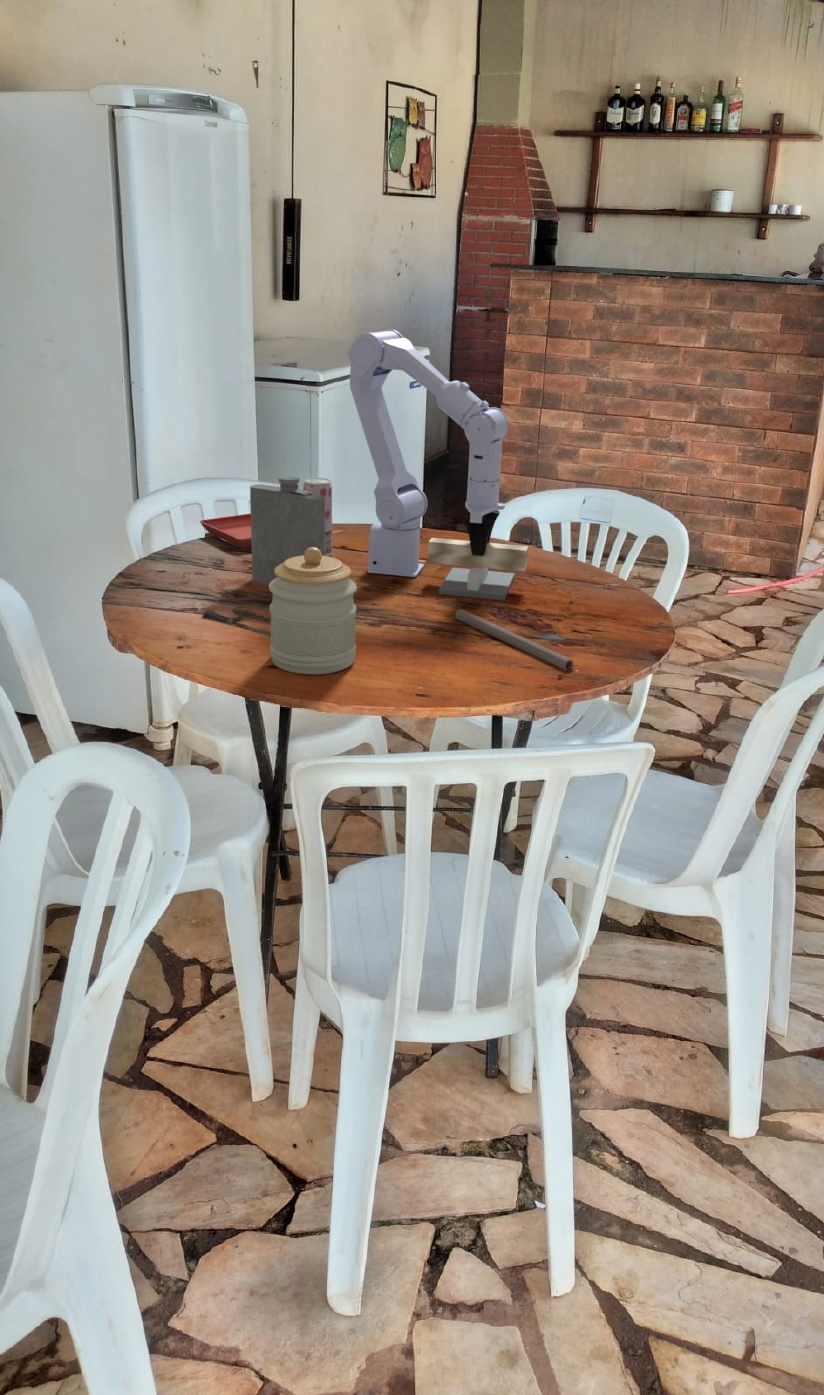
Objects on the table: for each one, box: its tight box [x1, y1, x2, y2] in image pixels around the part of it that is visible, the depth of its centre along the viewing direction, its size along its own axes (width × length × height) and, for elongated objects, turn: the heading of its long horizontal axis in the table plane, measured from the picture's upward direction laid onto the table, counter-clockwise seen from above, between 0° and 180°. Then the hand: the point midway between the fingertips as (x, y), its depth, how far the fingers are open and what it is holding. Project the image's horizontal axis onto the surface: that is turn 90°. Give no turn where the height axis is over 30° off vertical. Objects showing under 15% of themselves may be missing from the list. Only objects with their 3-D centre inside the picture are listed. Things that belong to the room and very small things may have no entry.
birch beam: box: [427, 537, 529, 573], centre depth 201 cm, size 18×3×4 cm, turn 78°
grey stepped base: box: [438, 567, 516, 601], centre depth 202 cm, size 12×14×4 cm
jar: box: [268, 547, 358, 675], centre depth 162 cm, size 13×13×18 cm
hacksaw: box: [201, 606, 271, 637], centre depth 180 cm, size 24×10×1 cm, turn 57°
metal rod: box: [454, 608, 574, 671], centre depth 176 cm, size 2×27×2 cm, turn 35°
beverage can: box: [302, 477, 333, 557], centre depth 215 cm, size 6×6×15 cm
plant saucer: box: [199, 513, 252, 550], centre depth 229 cm, size 18×18×3 cm
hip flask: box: [249, 475, 325, 585], centre depth 195 cm, size 16×4×20 cm, turn 57°
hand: (479, 552), depth 201 cm, fingers closed on birch beam, 3 cm apart
